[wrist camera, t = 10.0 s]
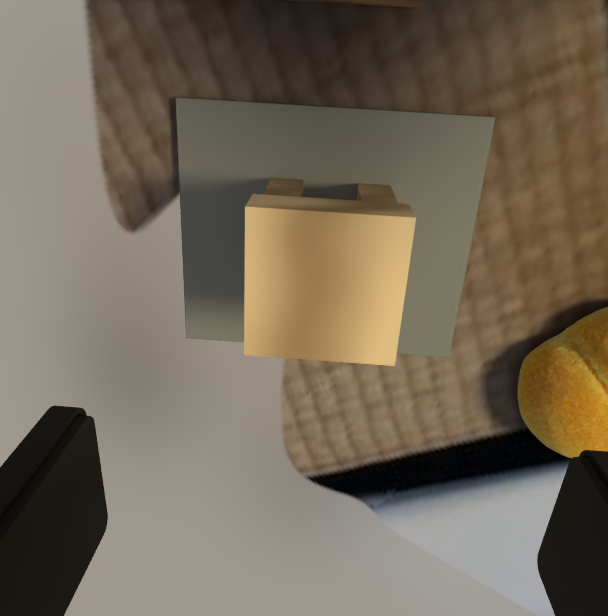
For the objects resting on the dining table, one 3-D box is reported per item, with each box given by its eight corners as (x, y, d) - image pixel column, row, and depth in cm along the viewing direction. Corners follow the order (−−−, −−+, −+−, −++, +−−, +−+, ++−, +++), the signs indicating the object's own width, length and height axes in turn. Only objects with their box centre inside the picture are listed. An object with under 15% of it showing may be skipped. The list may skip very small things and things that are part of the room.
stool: (396, 180, 25) (416, 217, 19) (381, 299, 27) (394, 365, 21) (266, 171, 25) (245, 206, 19) (263, 291, 27) (244, 354, 21)
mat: (493, 116, 24) (495, 117, 23) (447, 353, 29) (448, 357, 28) (178, 97, 24) (175, 97, 24) (188, 334, 29) (186, 338, 29)
